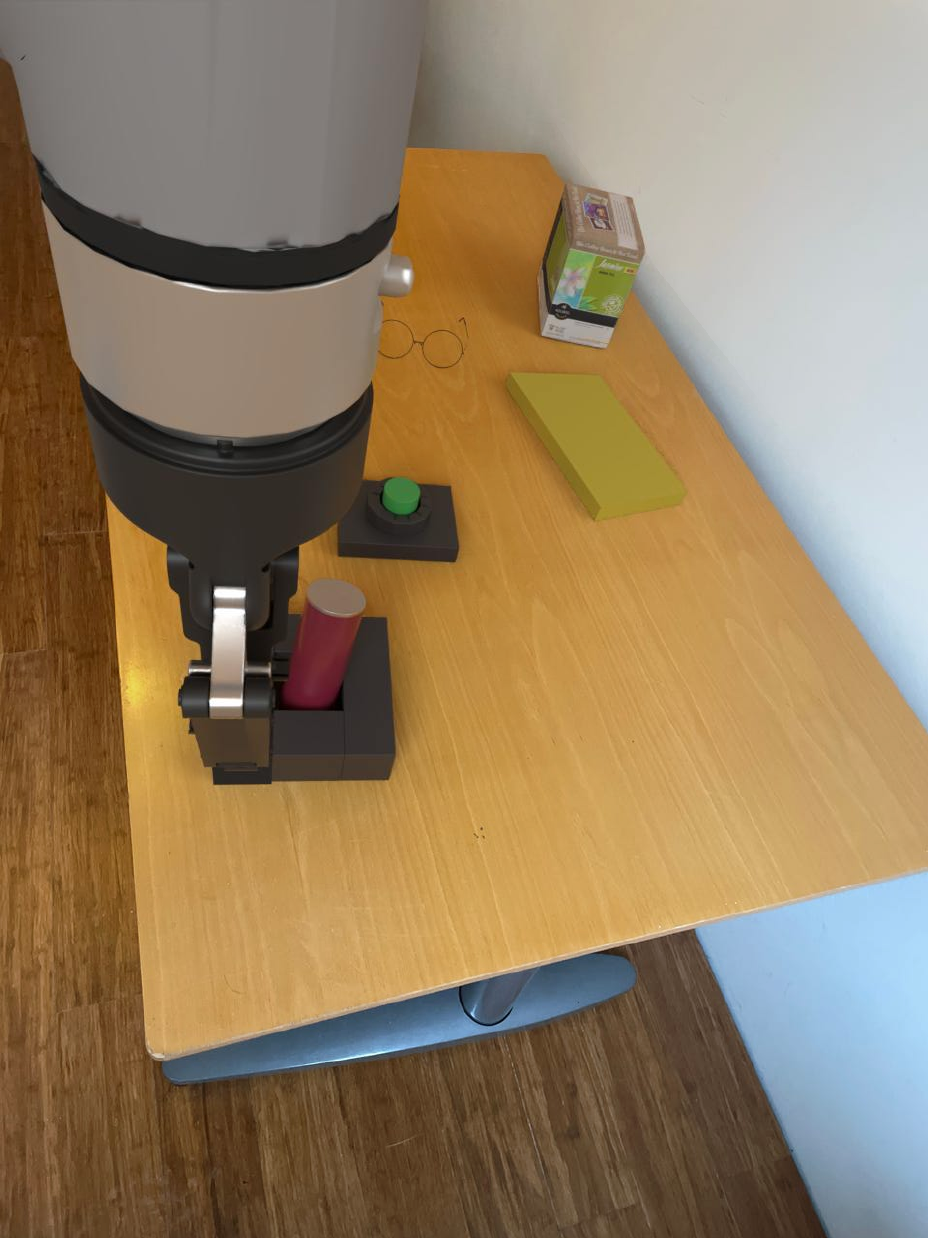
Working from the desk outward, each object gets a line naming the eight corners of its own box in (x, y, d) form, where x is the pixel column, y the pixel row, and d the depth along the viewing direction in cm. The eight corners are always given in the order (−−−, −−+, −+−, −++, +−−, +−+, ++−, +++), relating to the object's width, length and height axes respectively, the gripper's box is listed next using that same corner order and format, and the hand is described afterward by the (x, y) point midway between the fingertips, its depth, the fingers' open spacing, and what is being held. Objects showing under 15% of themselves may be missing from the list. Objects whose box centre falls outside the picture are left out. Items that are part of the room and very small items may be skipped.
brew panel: (337, 556, 81) (341, 529, 78) (336, 492, 86) (339, 464, 83) (455, 562, 84) (463, 536, 81) (447, 500, 89) (454, 473, 86)
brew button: (383, 514, 81) (385, 501, 79) (381, 488, 83) (383, 475, 81) (418, 516, 81) (421, 503, 80) (416, 490, 84) (418, 478, 82)
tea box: (608, 351, 113) (648, 249, 102) (538, 337, 112) (571, 233, 100) (599, 292, 123) (634, 193, 111) (534, 279, 121) (563, 177, 110)
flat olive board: (680, 504, 96) (585, 377, 108) (687, 491, 95) (590, 363, 107) (594, 521, 92) (505, 386, 104) (600, 507, 90) (509, 371, 102)
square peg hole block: (217, 782, 64) (215, 755, 61) (228, 642, 72) (227, 611, 69) (388, 780, 67) (396, 755, 64) (381, 646, 76) (387, 616, 72)
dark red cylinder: (280, 729, 66) (310, 611, 60) (275, 690, 70) (303, 575, 63) (335, 731, 68) (370, 617, 62) (328, 693, 72) (361, 581, 65)
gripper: (389, 554, 18) (322, 902, 37) (367, 246, 26) (321, 660, 44) (22, 536, 17) (144, 910, 35) (114, 212, 24) (175, 657, 43)
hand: (243, 770), depth 40 cm, fingers closed
